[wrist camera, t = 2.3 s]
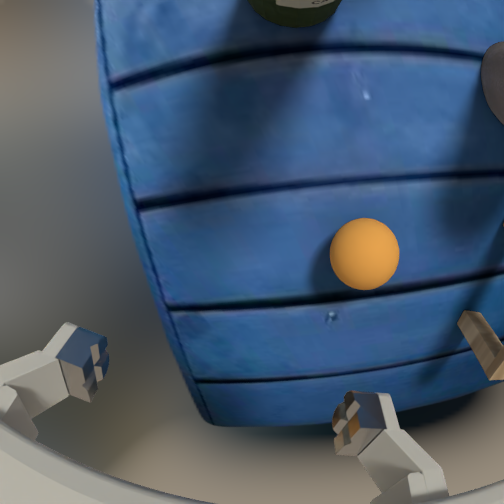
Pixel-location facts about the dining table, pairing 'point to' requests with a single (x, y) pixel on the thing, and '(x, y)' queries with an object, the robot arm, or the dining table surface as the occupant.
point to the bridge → (483, 343)
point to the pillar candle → (494, 79)
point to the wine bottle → (295, 11)
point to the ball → (364, 253)
